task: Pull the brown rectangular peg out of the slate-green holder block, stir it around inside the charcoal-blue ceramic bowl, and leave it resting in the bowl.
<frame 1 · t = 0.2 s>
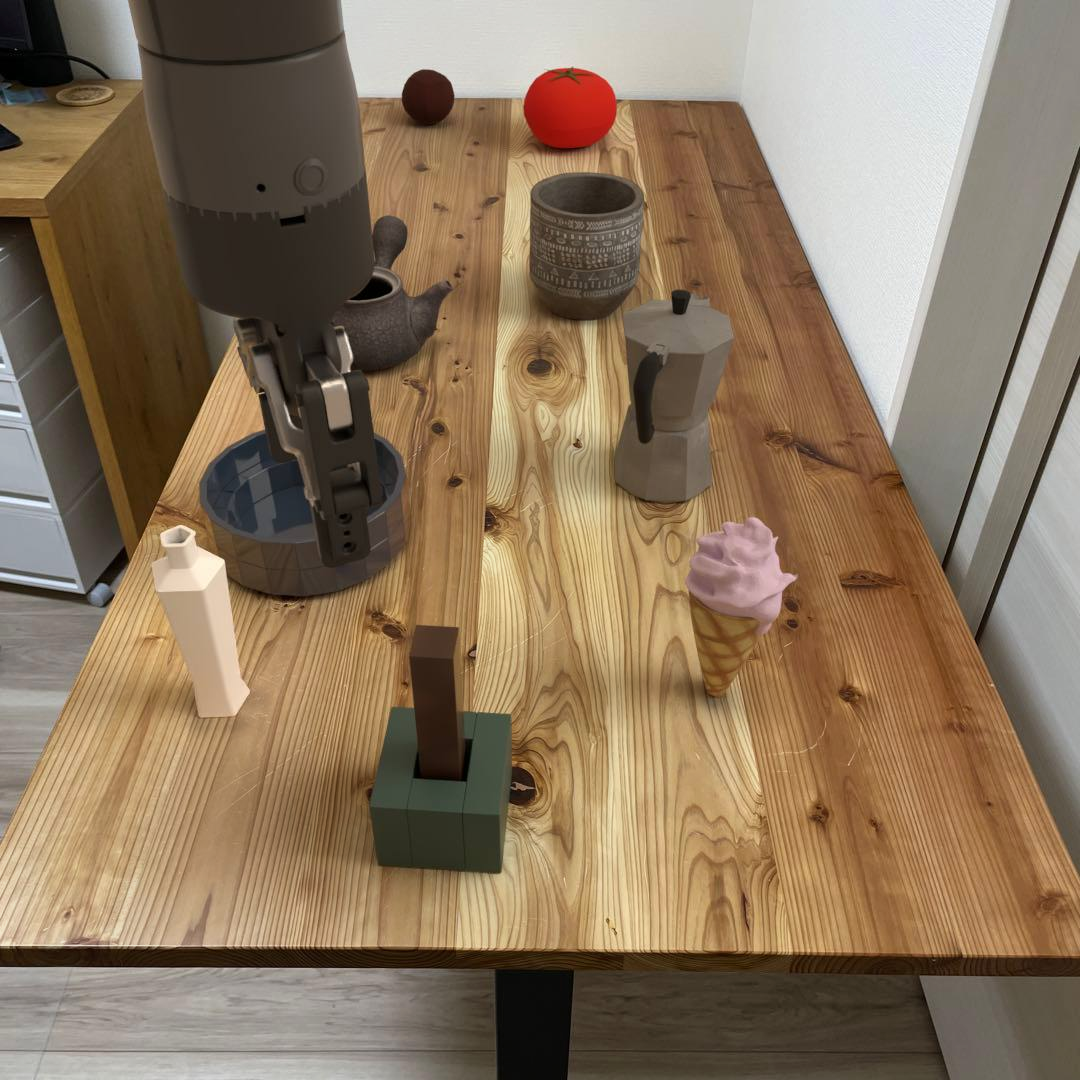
hand: (318, 504, 50), 26 cm above the table, tool pointing down, fingers open, 8 cm apart
holder: (447, 817, 68), on the table
brown rectangular peg: (441, 736, 63), in the holder
perfume bottle: (222, 702, 76), on the table
tomato: (568, 144, 160), on the table
dark brown ball: (429, 123, 166), on the table
coffeepot: (657, 482, 96), on the table
bowl: (312, 534, 89), on the table
ice cream cone: (719, 694, 77), on the table
teapot: (385, 335, 115), on the table
planter: (582, 304, 121), on the table
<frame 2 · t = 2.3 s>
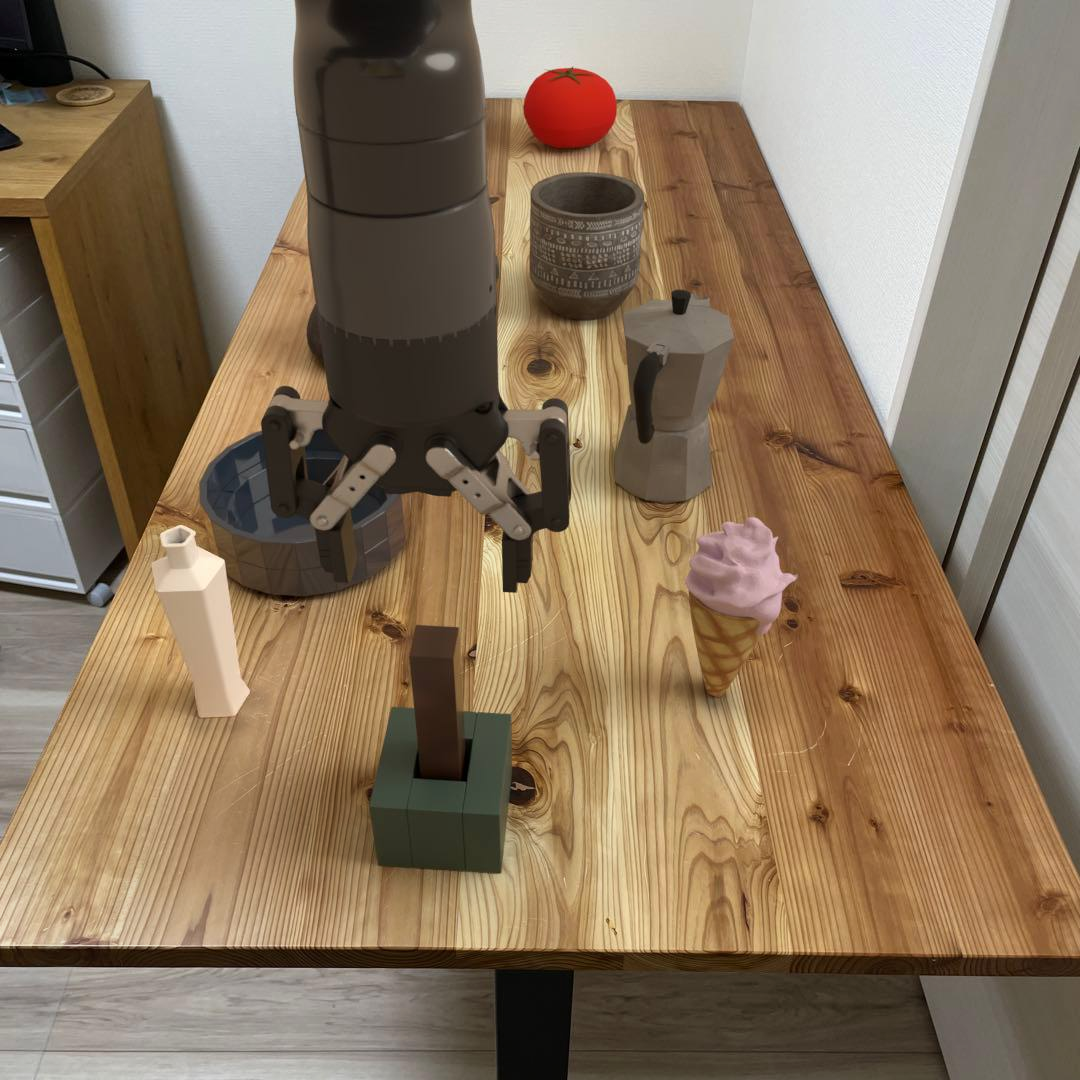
hand: (429, 577, 55), 21 cm above the table, tool pointing down, fingers open, 8 cm apart
nothing on the table moved.
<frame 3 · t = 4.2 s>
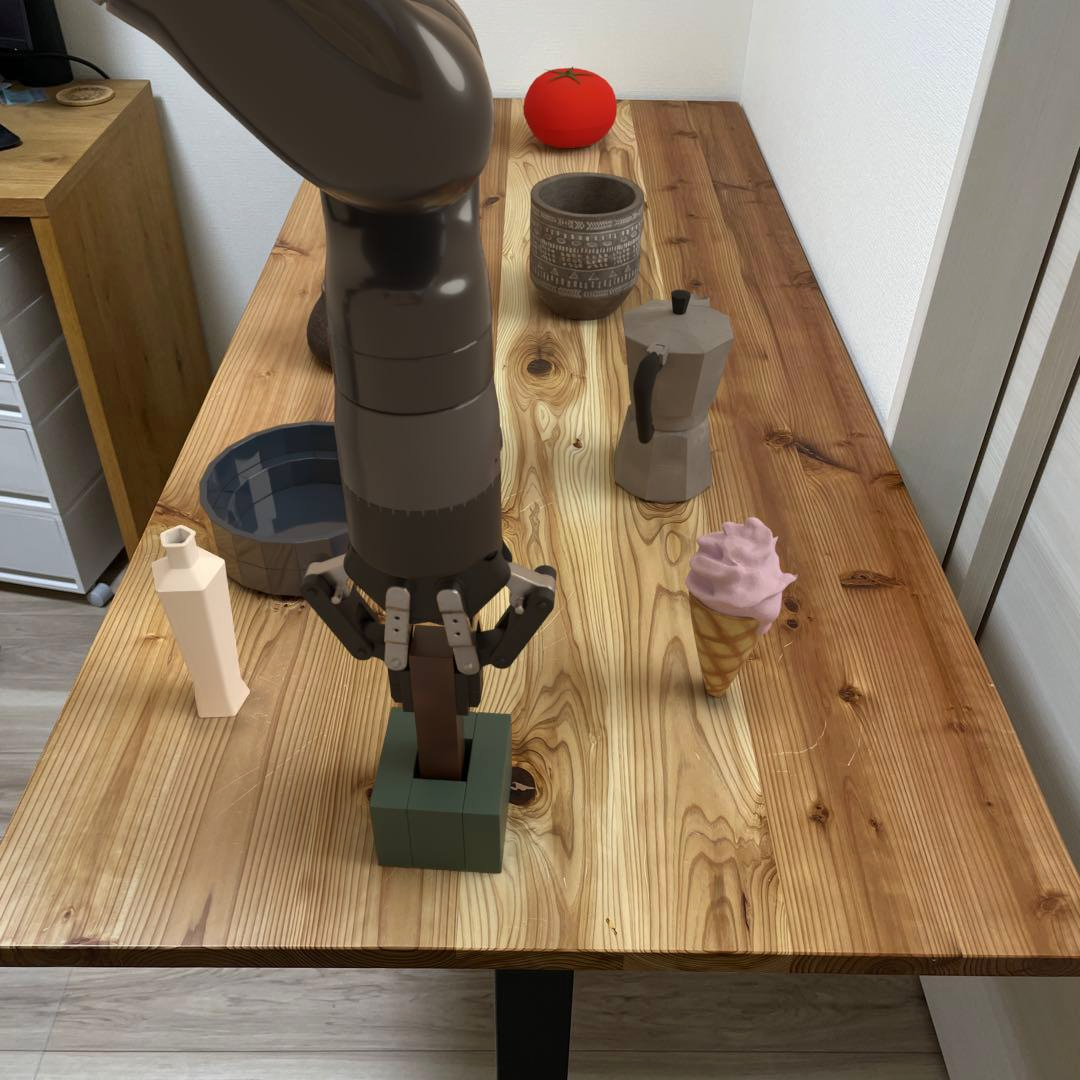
hand: (439, 701, 61), 11 cm above the table, tool pointing down, fingers closed on brown rectangular peg, 2 cm apart
brown rectangular peg: (441, 736, 63), in the holder, touching gripper
everything else where it was.
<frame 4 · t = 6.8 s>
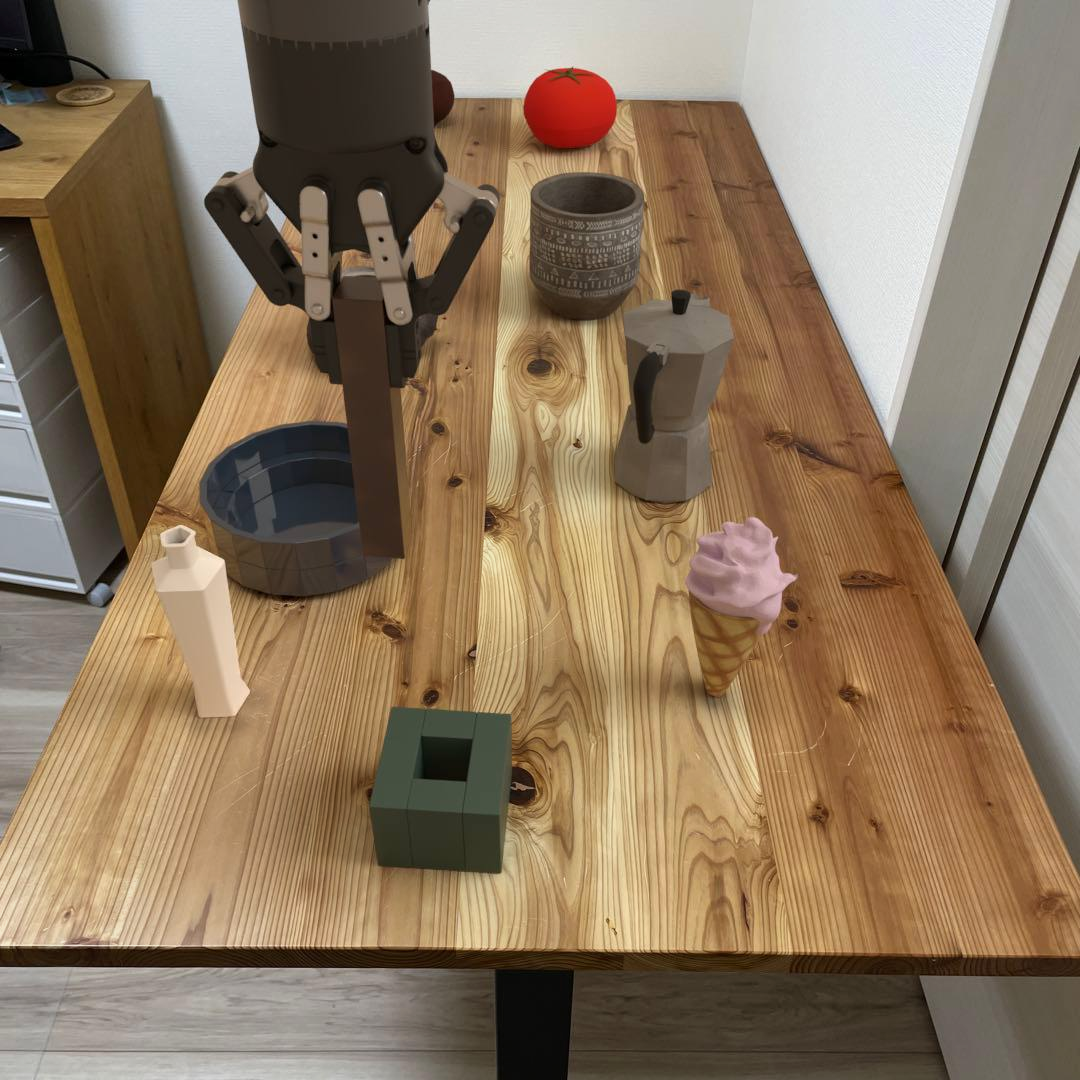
hand: (371, 377, 54), 29 cm above the table, tool pointing down, fingers closed on brown rectangular peg, 2 cm apart
brown rectangular peg: (376, 427, 56), point 26 cm above the table, touching gripper
everything else where it was.
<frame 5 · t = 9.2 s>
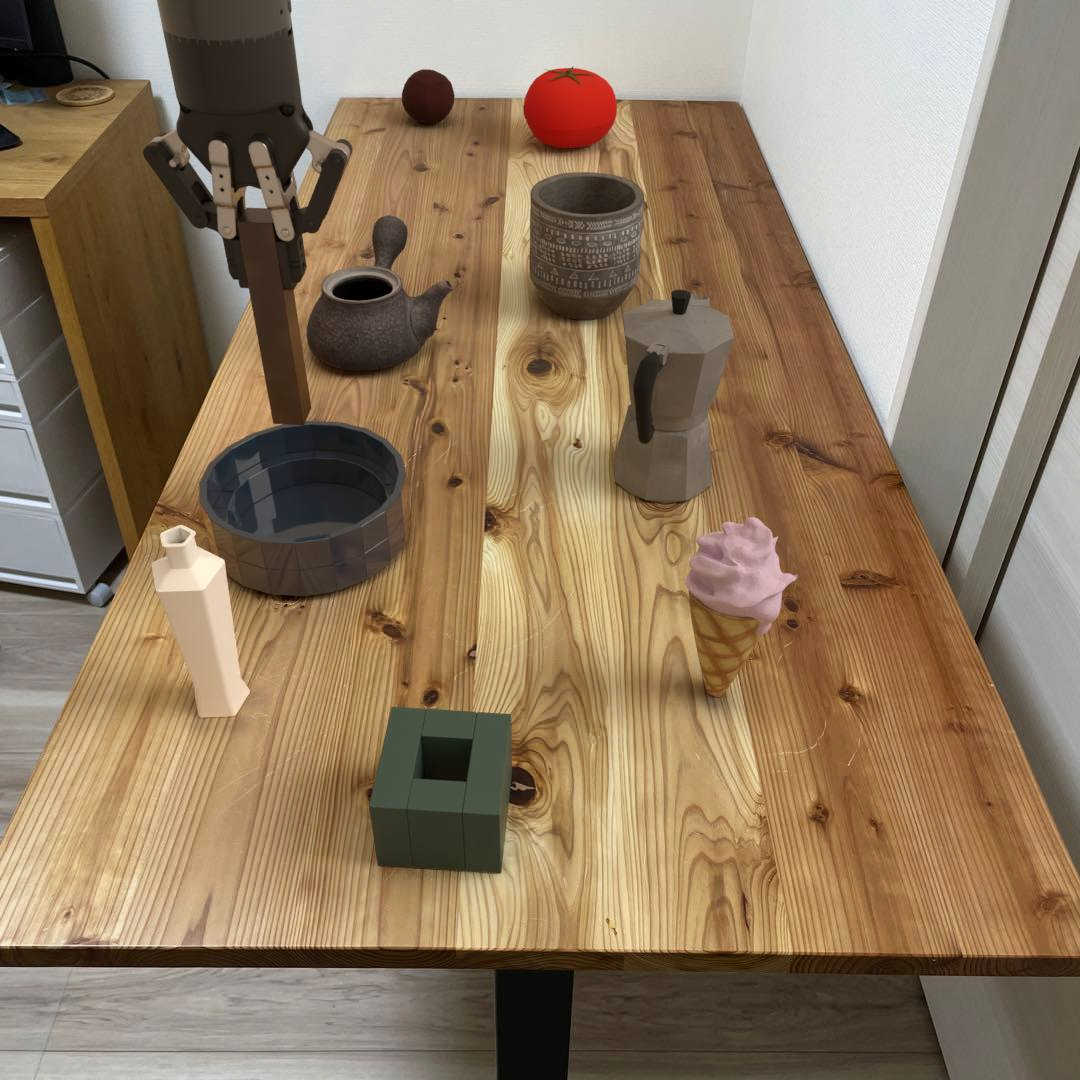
hand: (270, 283, 75), 23 cm above the table, tool pointing down, fingers closed on brown rectangular peg, 2 cm apart
brown rectangular peg: (277, 322, 77), point 20 cm above the table, touching gripper
everything else where it was.
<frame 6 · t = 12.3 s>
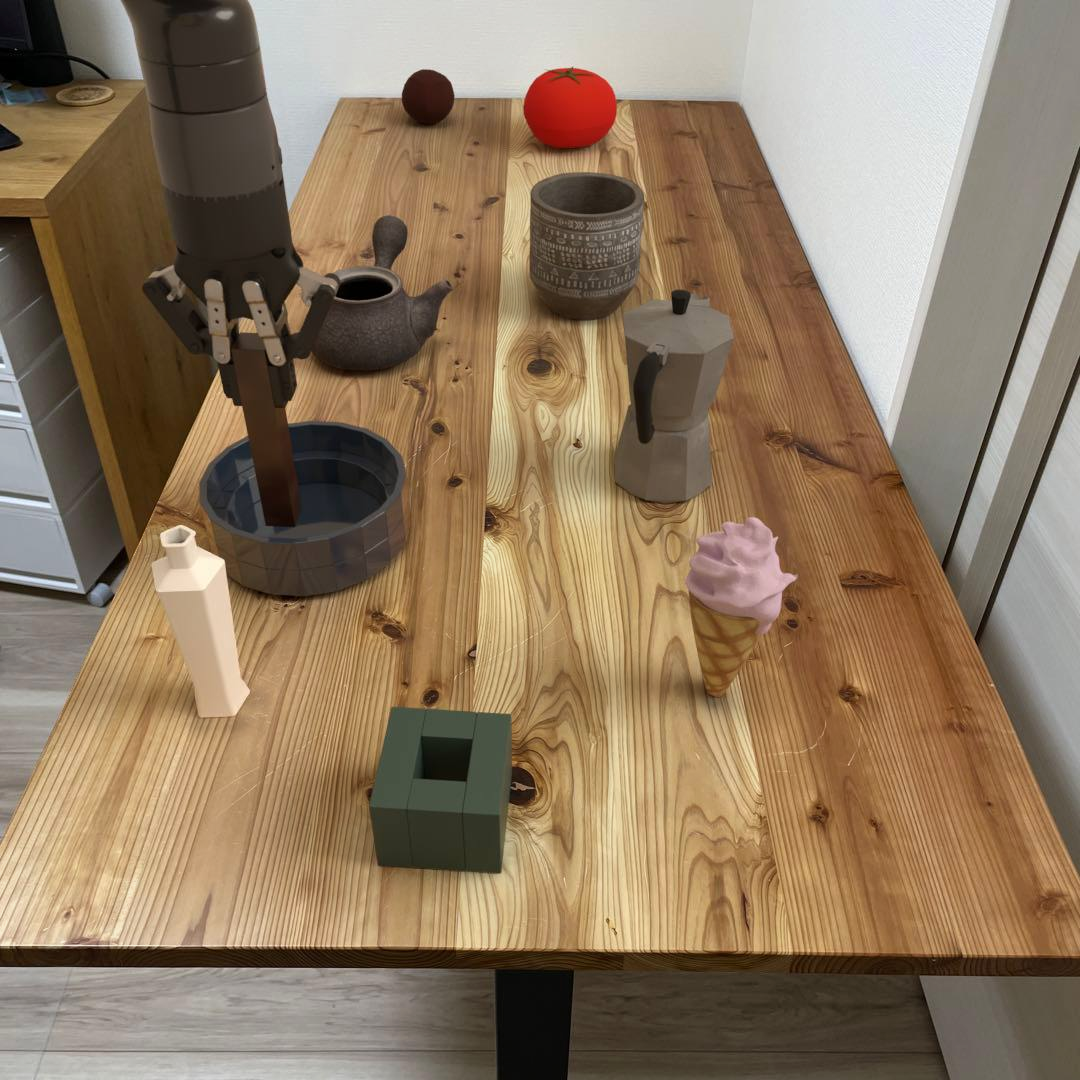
hand: (263, 400, 79), 14 cm above the table, tool pointing down, fingers closed on brown rectangular peg, 2 cm apart
brown rectangular peg: (269, 434, 81), point 11 cm above the table, touching gripper
everything else where it was.
when the fingers open (12 cm above the table, at t = 14.4 s): brown rectangular peg stays where it is, resting on bowl.
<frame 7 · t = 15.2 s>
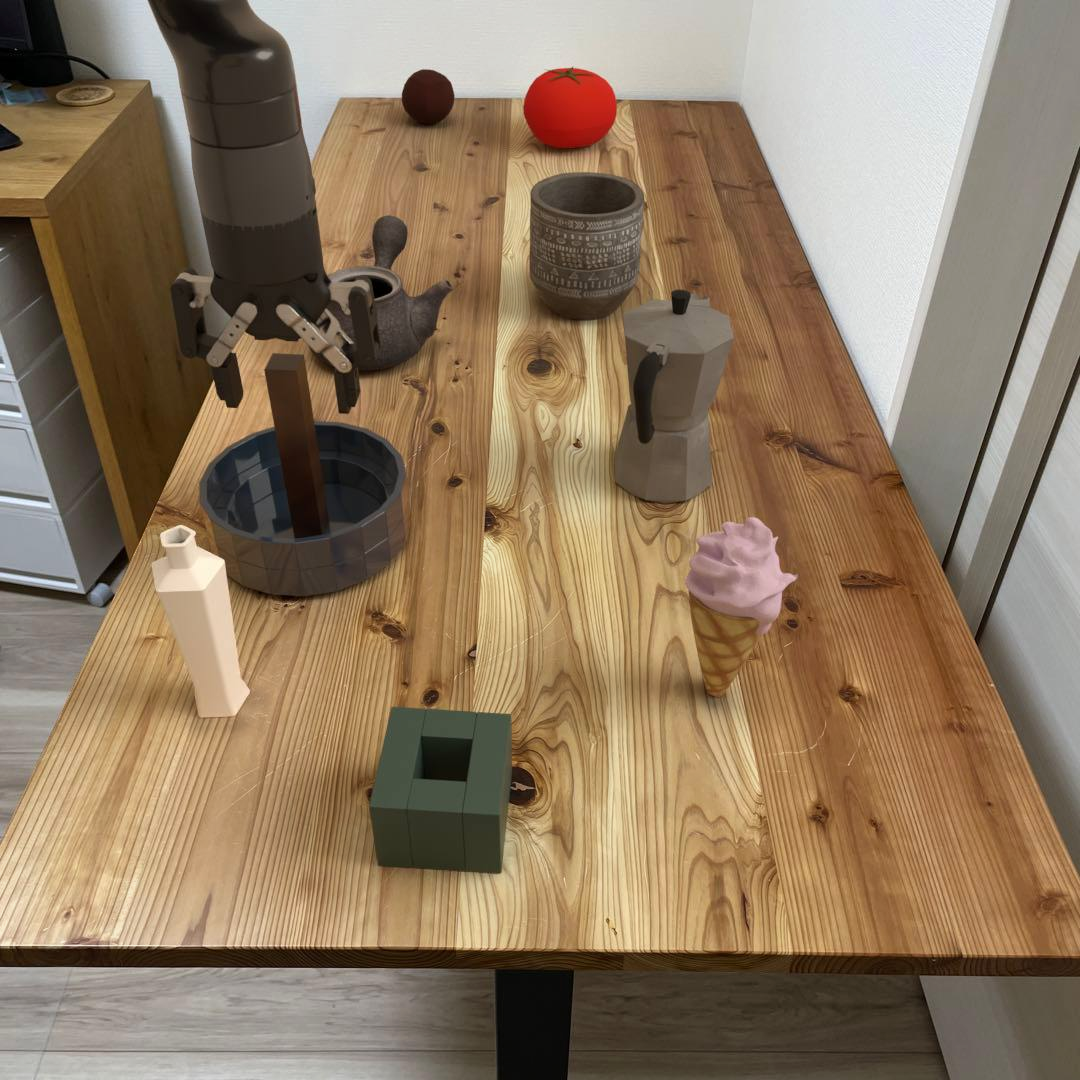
hand: (291, 405, 81), 13 cm above the table, tool pointing down, fingers open, 8 cm apart
brown rectangular peg: (298, 450, 84), in the bowl, point 9 cm above the table
everything else where it was.
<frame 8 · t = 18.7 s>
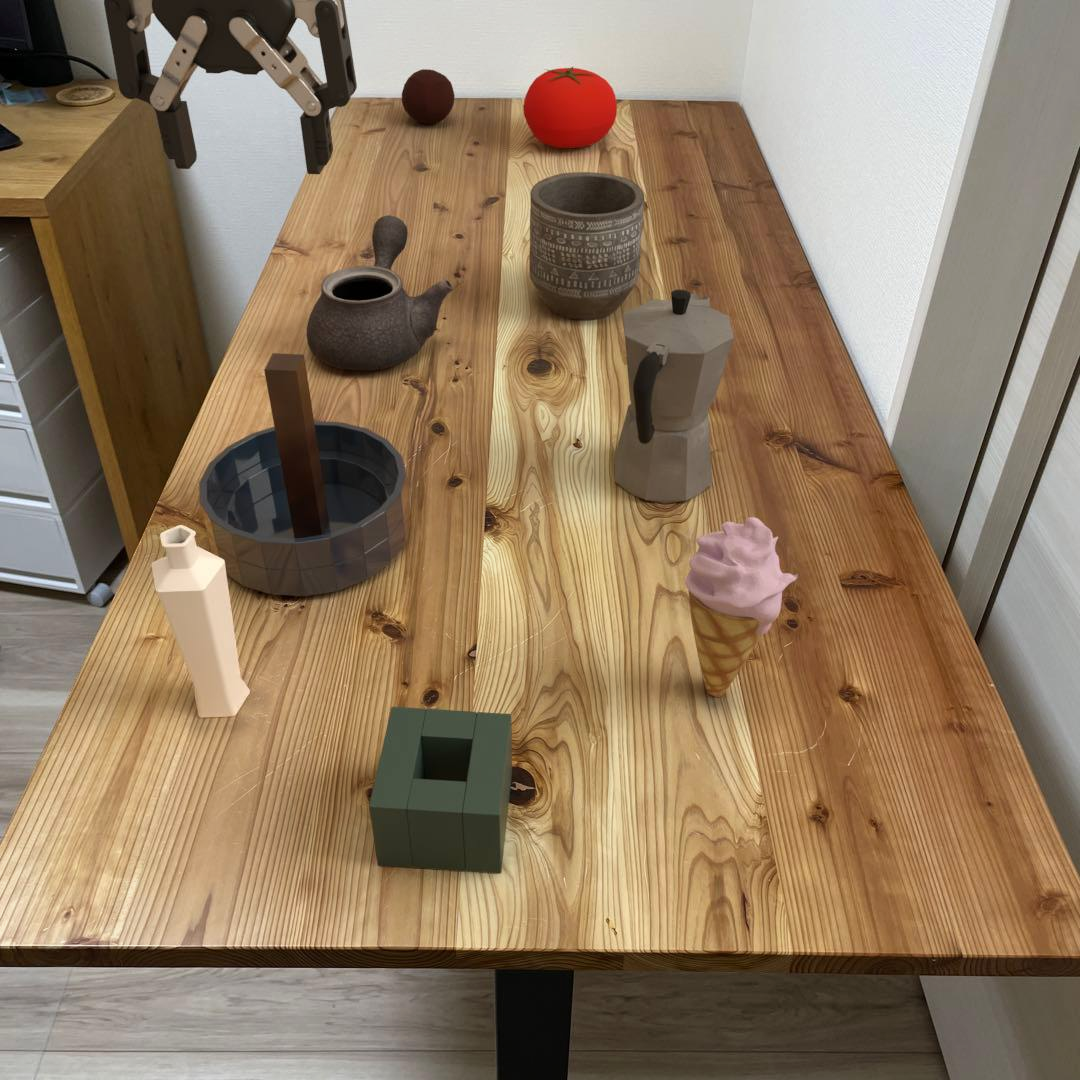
hand: (252, 167, 69), 31 cm above the table, tool pointing down, fingers open, 8 cm apart
nothing on the table moved.
at the end: brown rectangular peg inside the target area in the bowl (0.0 cm from its centre), point 8.6 cm above the bowl's base; brown rectangular peg moved 30.9 cm from its start; the gripper is holding nothing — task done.
